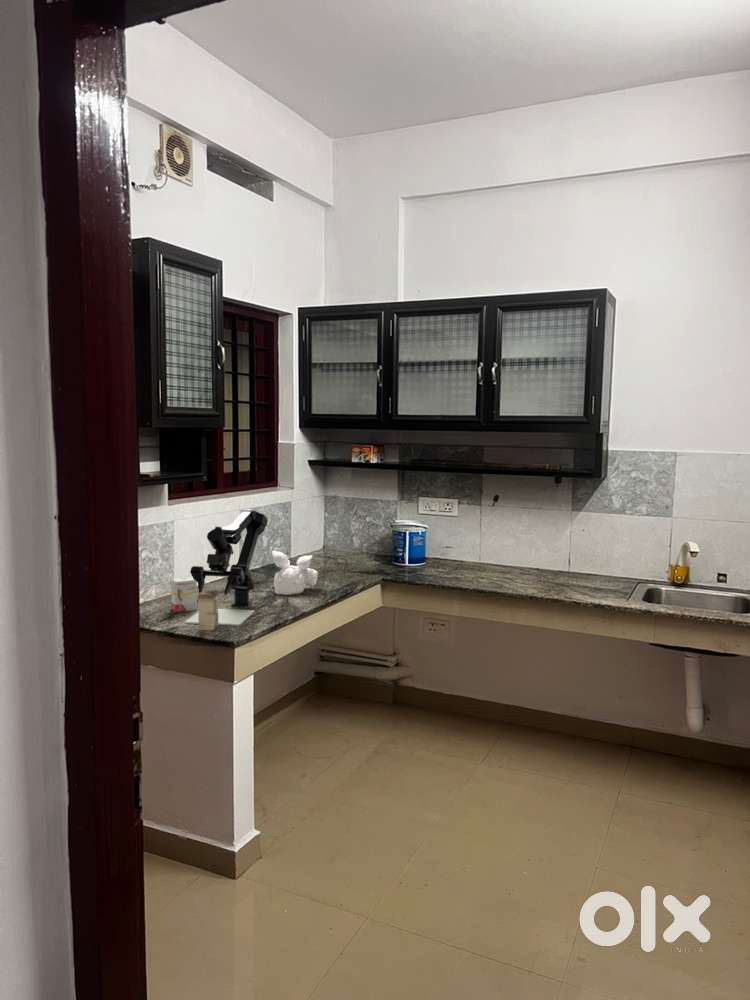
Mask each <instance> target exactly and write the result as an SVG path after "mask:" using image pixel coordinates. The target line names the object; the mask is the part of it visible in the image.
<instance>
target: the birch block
mask: <svg viewBox="0 0 750 1000" xmlns="http://www.w3.org/2000/svg"><path fill="white" fill-rule="evenodd" d="M218 609H219V590H211V589H210V590H208V589H205V590H204V589H203V590H202V592H201V593H199V592H198V593H197V612H198V618H199V624H198V631H214V630H216V628H218V627H219V625H218Z"/></svg>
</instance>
